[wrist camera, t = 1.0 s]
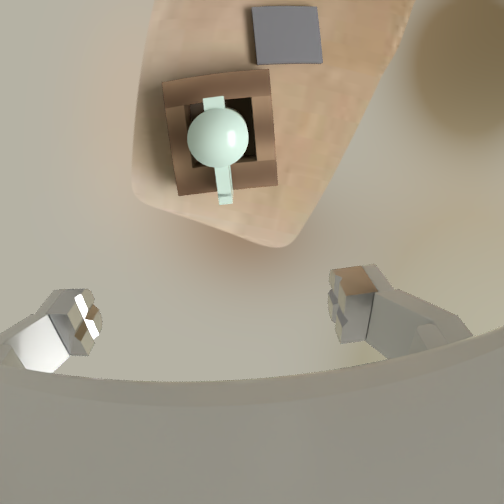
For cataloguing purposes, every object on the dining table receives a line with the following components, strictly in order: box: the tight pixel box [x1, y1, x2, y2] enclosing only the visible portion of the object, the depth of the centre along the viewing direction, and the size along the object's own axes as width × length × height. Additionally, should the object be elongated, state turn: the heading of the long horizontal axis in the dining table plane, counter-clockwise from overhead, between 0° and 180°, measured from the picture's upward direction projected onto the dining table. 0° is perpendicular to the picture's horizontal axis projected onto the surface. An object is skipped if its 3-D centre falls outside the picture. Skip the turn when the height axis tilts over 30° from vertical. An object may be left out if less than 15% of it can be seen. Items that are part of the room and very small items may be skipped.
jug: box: [187, 96, 248, 205], centre depth 33 cm, size 11×6×9 cm, turn 5°
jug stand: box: [162, 69, 278, 196], centre depth 34 cm, size 14×12×4 cm
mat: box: [252, 6, 323, 65], centre depth 30 cm, size 8×8×1 cm
